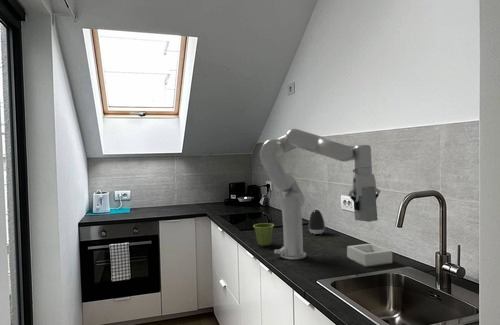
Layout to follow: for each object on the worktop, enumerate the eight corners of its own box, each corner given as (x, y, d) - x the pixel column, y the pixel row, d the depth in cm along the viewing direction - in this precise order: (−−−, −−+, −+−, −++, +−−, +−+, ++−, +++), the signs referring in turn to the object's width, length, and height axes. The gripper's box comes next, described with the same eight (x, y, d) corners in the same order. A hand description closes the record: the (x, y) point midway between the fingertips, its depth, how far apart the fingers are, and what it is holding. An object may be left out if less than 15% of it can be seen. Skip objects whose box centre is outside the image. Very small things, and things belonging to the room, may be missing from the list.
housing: (365, 266, 155) (365, 254, 155) (347, 257, 170) (346, 246, 169) (392, 263, 159) (392, 251, 159) (372, 254, 173) (372, 243, 173)
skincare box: (377, 220, 161) (377, 186, 161) (367, 222, 158) (366, 187, 157) (363, 218, 168) (362, 185, 168) (352, 220, 165) (352, 186, 165)
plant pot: (260, 241, 206) (259, 222, 206) (278, 243, 200) (277, 224, 200) (249, 246, 196) (249, 226, 196) (268, 248, 190) (267, 228, 190)
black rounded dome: (324, 231, 226) (323, 208, 225) (326, 235, 215) (325, 210, 215) (308, 232, 227) (307, 208, 226) (309, 235, 216) (308, 211, 216)
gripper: (350, 172, 157) (352, 212, 157) (384, 170, 161) (386, 208, 162) (342, 172, 164) (343, 209, 165) (375, 170, 169) (376, 206, 169)
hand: (364, 209), depth 163 cm, fingers closed on skincare box, 7 cm apart
